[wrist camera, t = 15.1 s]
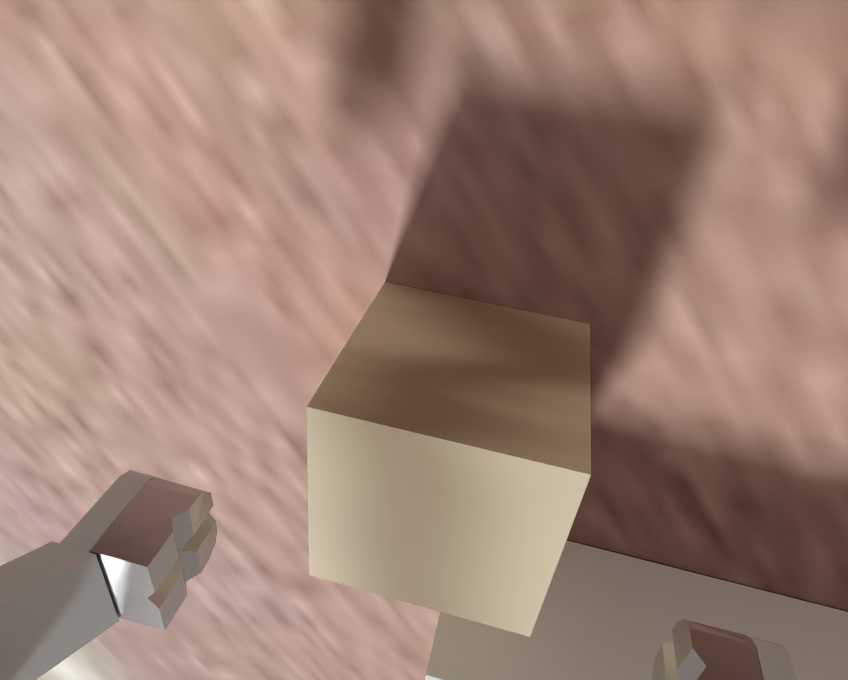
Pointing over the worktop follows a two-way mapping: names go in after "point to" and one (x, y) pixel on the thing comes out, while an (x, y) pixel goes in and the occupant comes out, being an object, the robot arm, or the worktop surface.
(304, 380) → the worktop surface
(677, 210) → the worktop surface
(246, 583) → the worktop surface
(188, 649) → the worktop surface
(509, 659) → the tote
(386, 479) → the maple cube
